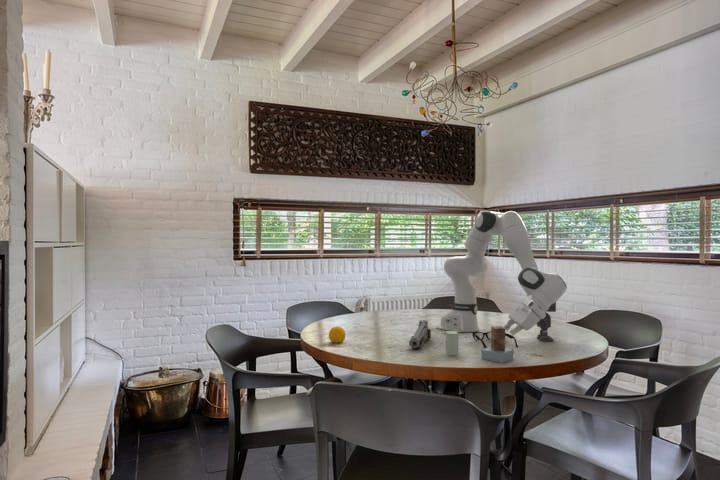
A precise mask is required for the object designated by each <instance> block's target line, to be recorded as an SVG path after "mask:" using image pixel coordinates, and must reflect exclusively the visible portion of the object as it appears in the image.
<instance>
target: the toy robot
mask: <svg viewBox="0 0 720 480" xmlns="http://www.w3.org/2000/svg"><path fill="white" fill-rule="evenodd" d="M548 312H549V313H551V312H552V313H553V312H554V313H555V312H557V301H556V302H555V303H554V304H552V305H551V306H550V307H549V309H548V310H547V311H546V312H545V314H546V317H545V318H544V319H540V321H539V322H538V323H537V324H536V327H538V328H540V330H539V334H537V337H536V338H537V340H538V342H543V343H553V342H555V340H554V338H553V337H551V336H549V335H548V334H549V333H548V329H550V328H551V327H552V317H551V315H550V314H549V313H548Z"/></svg>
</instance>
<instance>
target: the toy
mask: <svg viewBox="0 0 720 480" xmlns="http://www.w3.org/2000/svg"><path fill="white" fill-rule="evenodd" d="M428 322H429V320H427V319H422V320H421V319H420V320H419V321H418V326H417V329H416V330H415V332H414V335H412V336H411V337H410V340H409V341H408V345H409V347H411V349H415V350H419V349H421V347H423V345H424V343H425V341H428V340H429V339H430V340H431V338H432V337H431V335H432V334H431V332H432V331H431V329H430V328H429V324H428Z"/></svg>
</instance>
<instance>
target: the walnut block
mask: <svg viewBox="0 0 720 480" xmlns="http://www.w3.org/2000/svg"><path fill="white" fill-rule="evenodd" d="M505 333H506V329H505V328H504V326H501V325H491V326H490V339H491V340H490V347H491V349H492V350H493V351H505V348H506V336H505Z"/></svg>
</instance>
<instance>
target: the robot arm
mask: <svg viewBox="0 0 720 480" xmlns="http://www.w3.org/2000/svg"><path fill="white" fill-rule="evenodd" d="M474 218H475V219H474V224H473V226H472V228H471V229H470V232H469V234H468V235H467V238H466V240H465V242H464V247H465V249H466V251H467V252H466V254H465V255H460V256H459V255H457V256H456V255H455V256H452V257H449V258H447V259H445V260H444V263H443V270H444V273H445V274H446V275H447V276H448V277H449V278H450V279H451V282H452V284H453V287H454V289H453V290H454V302H452V303H451V304H450V307H451V309H449V310H448V311H447V312H446V313H444V314H443V315H442V317H441V319H440V323H439V324H437V325H436V327H435V328H436V329H439V330H444V331H457V333H469V332H470V333H471V332H472V333H473V332H480V327H479V324H478V322H479V321H478V316H477V315H478V303H477V289H476V287H475V286H474V284H472V283H471V281H470V277H477V276H480V275H483V274H484V273H485V272H486V271H487V268H488V265H487V261H486V259H485V253H486V251H487V248H488V246H489V244H490V242H491V241H492V238H493V236H501V238H502V241H503V242H504V244H505V246H506V248H507V249H508V250H509V252H510V253H511V254H512V256H513V257H514V258H515V259H516V261H517V262H518V264H519V265H520V267H521V269H522V270H521V271H520V272H519V273H518V277H517V281H518V283H519V285H520V287H521V288H522V289H523V291H524V293H526V296H527V297H526V298H525V299H524V300H522V302H521V304H520V305H518V306H517V307H515V309H513V310H512V312H510V313H509V315H508V318H509V320H508V321H507V323H506V324H505V325H504V326H503V327H504V328H505V331H509V330H510V329H511V327H512V326H513V325H515V324H516V326H515V327H514V328H512V329H511V330H510V331H509V334H510V335H512V336H515V335H516V334H518V333H519V332H521V331H522V330H524V331H530V330H531V329H532V328H533V327H535V326H536V325H537V323H538V322H539V321H540V319H544V318H545V317H546V314H545V312H546V311H547V310H548V309H549V307H550V306H551V305H552V304H554V303H555V302H556V303H557V301H559V299H560V298H561V297H562V296H563V295H564V294H565V293H566V291H567V289H568V288H567V287H568V285H567V284H566V282H565V281H564V280H563V278H562V277H561V276H560V275H559V274H558V273H555V272H552V273H551V272H550V273H549V272H545V271H543V270H539V268H538V265H537V263H536V261H535V257H534V253H533V249H532V244H531V239H530V235H529V231H528V230H527V227H526V224H525V222H524V220H523V219H522V217H521V216H520V215H519V213H517V212H516V211H513V210H509V211H506V212H499V211H489V210H481V211H479V212H478V213H477V214H476V216H475V217H474ZM546 313H547V312H546Z"/></svg>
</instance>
